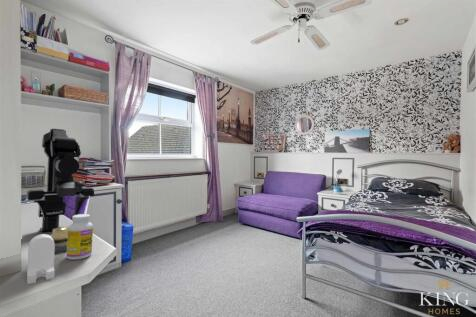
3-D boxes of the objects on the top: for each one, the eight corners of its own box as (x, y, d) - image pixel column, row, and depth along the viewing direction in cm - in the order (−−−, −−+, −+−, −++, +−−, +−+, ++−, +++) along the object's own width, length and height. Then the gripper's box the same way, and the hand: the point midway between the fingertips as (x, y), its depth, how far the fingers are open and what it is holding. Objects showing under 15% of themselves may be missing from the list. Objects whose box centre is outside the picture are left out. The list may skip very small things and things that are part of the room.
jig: (40, 243, 85) (40, 238, 85) (70, 238, 92) (70, 233, 92) (47, 254, 76) (47, 248, 76) (80, 248, 82) (80, 242, 82)
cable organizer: (51, 265, 69) (53, 230, 69) (54, 277, 61) (56, 238, 62) (27, 269, 65) (28, 233, 66) (27, 284, 58) (29, 242, 58)
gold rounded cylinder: (50, 245, 84) (51, 228, 84) (66, 243, 87) (66, 226, 87) (53, 249, 81) (54, 231, 81) (69, 245, 84) (69, 228, 84)
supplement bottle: (79, 261, 71) (81, 218, 72) (60, 259, 73) (62, 217, 73) (96, 253, 78) (98, 214, 78) (79, 251, 79) (81, 212, 79)
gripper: (31, 174, 72) (28, 226, 72) (99, 174, 86) (98, 217, 85) (27, 173, 80) (24, 220, 79) (90, 172, 93) (88, 212, 93)
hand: (61, 217), depth 84 cm, fingers open, 8 cm apart
